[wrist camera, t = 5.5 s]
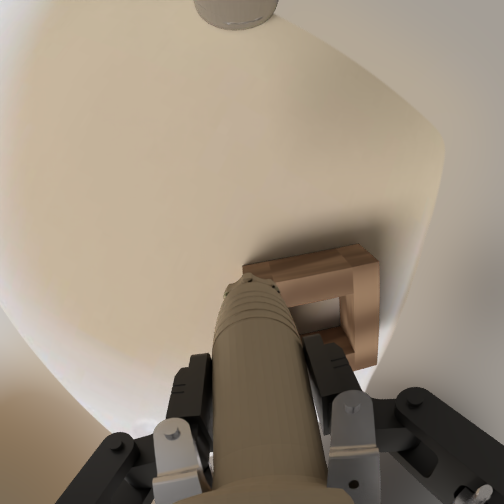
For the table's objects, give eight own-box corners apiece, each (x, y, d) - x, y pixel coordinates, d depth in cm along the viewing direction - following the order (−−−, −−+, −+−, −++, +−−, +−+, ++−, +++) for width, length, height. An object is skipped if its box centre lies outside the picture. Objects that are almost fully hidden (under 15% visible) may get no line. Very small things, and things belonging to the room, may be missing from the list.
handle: (251, 229, 17) (301, 526, 3) (314, 309, 19) (409, 544, 5) (185, 279, 18) (107, 548, 4) (252, 349, 20) (273, 584, 6)
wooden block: (242, 265, 36) (243, 288, 30) (358, 243, 36) (379, 261, 30) (262, 360, 40) (266, 390, 35) (361, 338, 40) (376, 364, 35)
